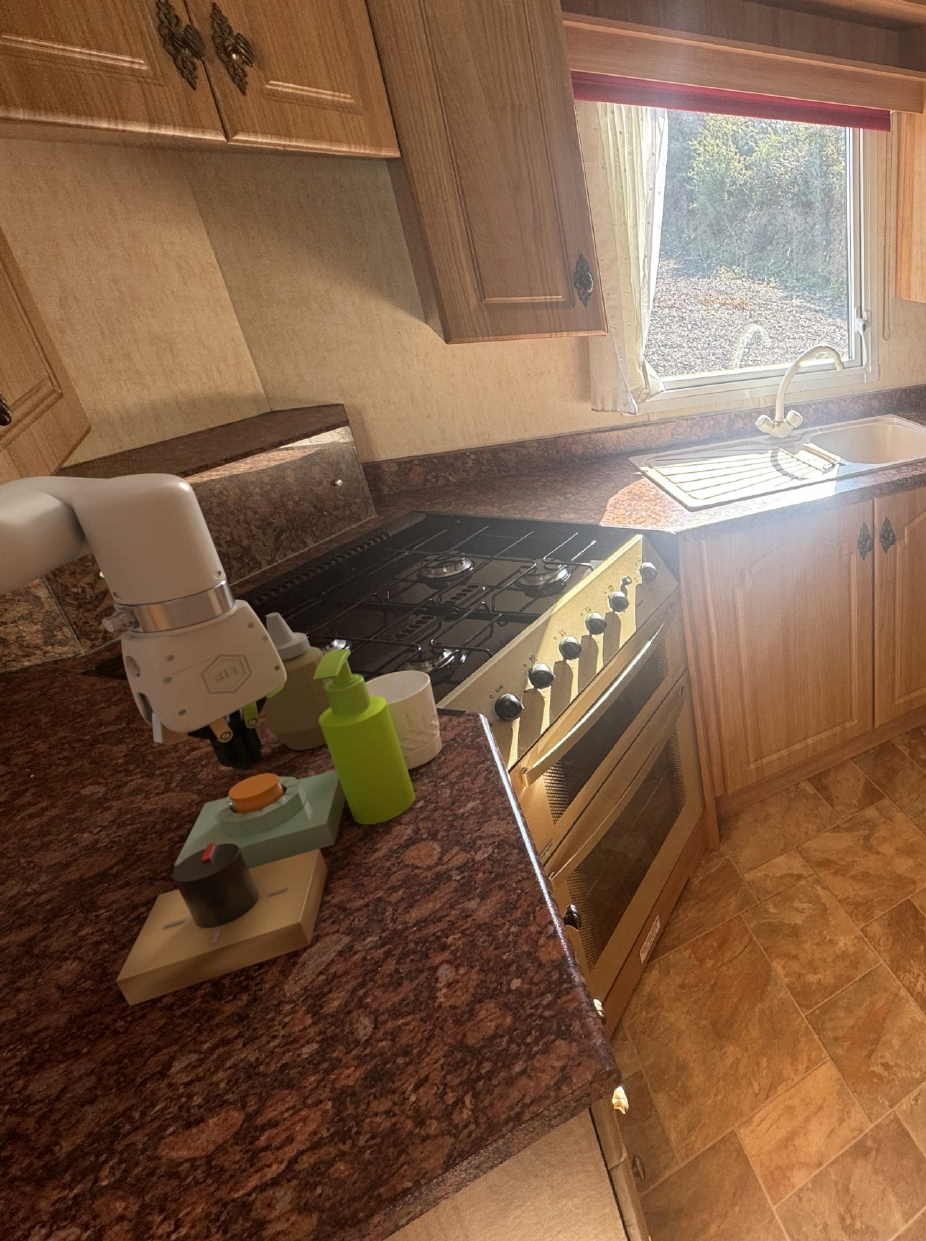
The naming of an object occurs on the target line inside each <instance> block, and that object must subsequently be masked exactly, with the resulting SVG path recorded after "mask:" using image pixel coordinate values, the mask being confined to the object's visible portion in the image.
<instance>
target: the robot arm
mask: <svg viewBox="0 0 926 1241" xmlns="http://www.w3.org/2000/svg"><path fill="white" fill-rule="evenodd" d="M89 554H93V556H94V558H95V560H96V563H97V565H98V567H99V569H100V571H101V572H100V573H101V574H102V577H103V578H104V580H105V583H106V585H107V587H108V590H109V592H110V594H111V597H112V598H113V600H114V603H112V605H113V608H114V610H115V612H114V613H112V614H111V615H110V616H108V617H104V618H102V619H101V624H102V626H103V628H104V629H105V630H106V631H108V632H109V633H113V632H116V631H119V630H122V631H124V630H127V631H124V632H122V633H121V634H120V644H121V654H122V660H123V665H124V670H125V675H126V678H127V681H128V684H129V688H130V690H131V694H132V696H133V700H134V702H135V704H136V706H137V709H138V711H139V714H140V715H141V717H142V719H143V721H144V722H145V723H146V724H148V726H152V737H153V738H152V739H153V742H154V743H155V744H157V745H162V746H165V747H169V746H173V745H176V744H179V743H182V742H187V741H188V740H191V739H194V738H195V739H200V740H207V741H209V743H210V746H211V748H212V749H213V752H214V754H215V756H216V760H217V761H218V763H219V764H220V765H221V766H222V767H226V768H232V769H235V770H239V771H243V772H247V771H249V770H250V769H252V768H253V766H254V765H259V764H261V763H263V762H264V761H265V759H264V757H263V754H262V752H261V750H262V749H263V744H262V742H261V739H260V737H259V735H258V732H257V729H256V727H257V726H258V725H259V723H260V717H259V715H260V714H261V712H262V710H263V709H264V708H263V706H264V704H265V702H266V700H267V699H268V700H269V699H270V698H271V697H273V696H274V695H275V694H277V693H278V692H279V691H281V690H282V689H283V687H284V683H285V682H286V679H287V675H286V671H285V668H284V665H283V663H282V660H281V658H280V656H279V654H278V652H277V650H276V648H275V646H274V644H273V642H272V640H271V638H270V636H269V634H268V632H267V628H266V627H265V625H264V624H263V622H262V621H261V619H260V618H259V616H258V615H257V614H256V612H255V611H254V610H253V608H252V607H251V605H250V604H249V603H248V602H247V601H246V600H243V599H235V596H234V594H233V590H232V589H231V586H230V584H229V581H228V578H227V575H226V573H225V569H224V566H223V565H222V562H221V560H220V557H219V554H218V552H217V549H216V547H215V544H214V541H213V539H212V535H211V533H210V530H209V528H208V525H207V522H206V520H205V517H204V515H203V512H202V510H201V507H200V504H199V502H198V498H197V496H196V494H195V492H194V489H193V487H192V486H191V485H190V483H189V482H188V481H186V479H184V478H182V477H181V476H178V475H175V474H171V473H154V472H152V473H138V474H137V473H136V474H128V475H122V476H121V475H120V476H115V477H110V478H95V477H78V476H77V477H76V476H52V475H43V476H42V475H41V476H40V475H39V476H30V477H23V478H19V479H15V480H11V481H8V482H5V483H3V484H0V595H5V594H8V593H11V592H12V593H13V592H15V591H17V590H20V589H22V588H24V587H26V586H28V585H30V584H32V583H33V582H35V581H37V580H38V579H40V578H43V577H44V576H46V575H47V574H49V573H51V572H53V571H55V570H56V569H58V568H59V567H62V566H63V565H66V564H68V563H72V562H73V561H75V560H78V559H81V558H82V557H85V556H87V555H89ZM225 720H226V721H225Z"/></svg>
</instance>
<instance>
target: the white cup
mask: <svg viewBox="0 0 926 1241" xmlns="http://www.w3.org/2000/svg"><path fill="white" fill-rule="evenodd" d="M365 684H366V687H367V690H368V693H369V695H375V696H380V697H383V698H384V699H385V700H386V702H387V706H388V709H389V712H390V715H391V719H392V722H393V725H394V728H395V731H396V735H397V738H398V741H399V744H400V748H401V751H402V754H403V757H404V760H405V764H406V767H407V770H412V769H415V768H418V767H420V766H422V765H425V764H427V763H428V762H429V761H431V760H433V759H435V758H436V757H437V756H438V755H439V753H440V752H441V751H442V750H443V742H442V738H441V732H440V728H441V727H440V723H439V715H438V711H437V710H438V709H437V707H436V702H435V697H434V691H433V688H432V682H431V677H430V675H429V674H427V673H426V672H424V671H419V670H400V671H396V672H390V673H387V674H383V675H380V676H377V677H374V678H372V679H371V680H368V681H366V682H365Z"/></svg>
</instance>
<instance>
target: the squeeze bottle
mask: <svg viewBox="0 0 926 1241" xmlns="http://www.w3.org/2000/svg"><path fill="white" fill-rule="evenodd" d="M266 631H267V632H268V634H269V636H270V638H271V640H272V642H273V644H274V646H275V648H276V650H277V652H278V654H279V656H280V658H281V660H282V663H283V665H284V668H285V671H286V675H287V679H286V682H285V683H284V687H283V689H282V690H281V691H279V692H278V693H277V694H275V695H274V696H273V697H271V698H270V699H269V700H268V699H267V700H266V702H265V704H264V706H263V708H262V709H263V712H264V716H265V721H266V725H267V728H268V729H269V730H270V732H272V734H274V735H275V736H276V738H277V739H279V740H280V741H281V742H282V743H283V744H284V745H285V746H287V748H288V749H289V750H294V751H306V750H311V749H315V748H319V747H322V746H324V745H327V743H326V740H325V737H324V734H323V731H322V729H321V726H320V723H319V717H320V716H321V714H322V713H323V712H324V711H326V710H327V709H328V708H330V705H329V702H328V699H327V696H326V693H325V690H324V687H325V685H326V684H327V683H328V682H329V681H331V680H332V678H328V679H322V680H316V681H315V680H314V679H313V677H314V674H315V671H316V669H317V666H318V664H319V663H320V661H321V660H322V658H323V657H324V656H325V654H324V652H323V651H322V650H321V649H320V648H318V647H315V646H311V645H310V642H309V640H308V637H307V635H306V634H305V633H303V632H293V631H292V630H291V628H290V626H289V625H288V624H287V622H286V621H285V619H284V618H283V617H282V615H281V614H280V613H279V612H272V613H269V614H267V615H266Z"/></svg>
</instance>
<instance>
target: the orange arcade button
mask: <svg viewBox="0 0 926 1241" xmlns="http://www.w3.org/2000/svg"><path fill="white" fill-rule="evenodd" d="M278 777H279V776H278V775H277V774H276V773H270V772H266V773H260V774H256V775H253V776H250V777H247V778H245V779H242V780H241V781H239V782H238V783H236V784H235V785H234V786H232V787H231V788H230V790H229V791H228V793H227V794H228V796H229V798H230V800H231V802H232V805H233V807H234V809H235V811H236V812H237V813H249V812H253V811H256V810H260V809H262V808H264V807H267V806H269V805H271V804H273V803H275V802H276V801H278V800H279V799H280V798H281V797H282V796H283V795H284V791H283V788H282V785H281V783H280V780H279V778H278Z"/></svg>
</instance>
